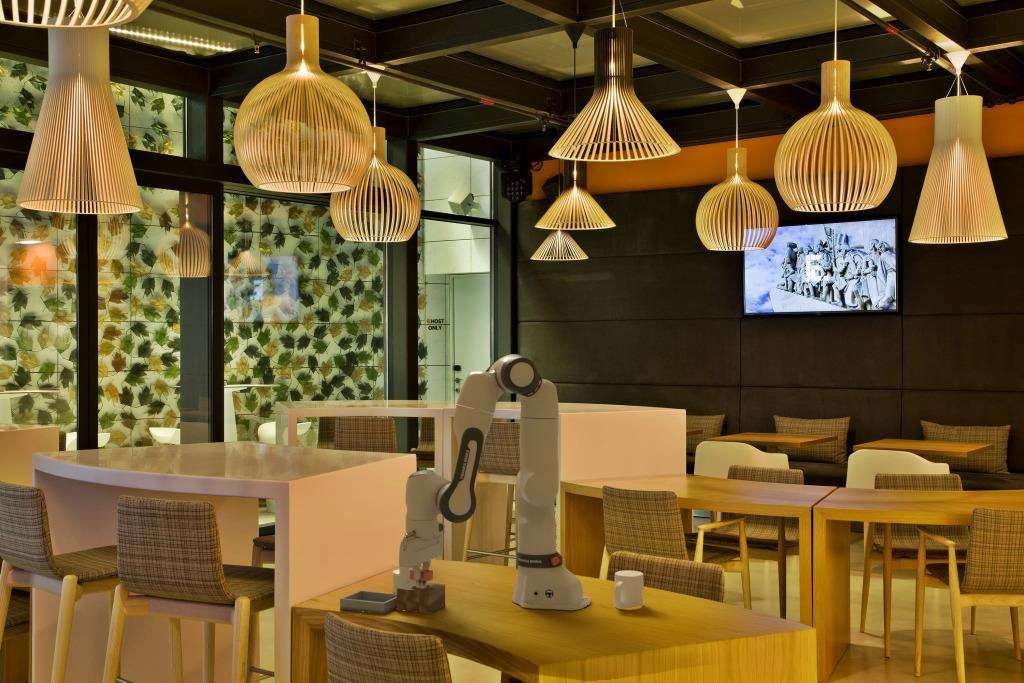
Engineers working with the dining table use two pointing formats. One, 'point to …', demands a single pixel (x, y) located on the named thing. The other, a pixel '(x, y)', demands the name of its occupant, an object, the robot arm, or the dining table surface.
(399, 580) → the base with upright slab
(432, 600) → the wooden square hole block
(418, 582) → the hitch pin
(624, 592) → the mug
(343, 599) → the tray
